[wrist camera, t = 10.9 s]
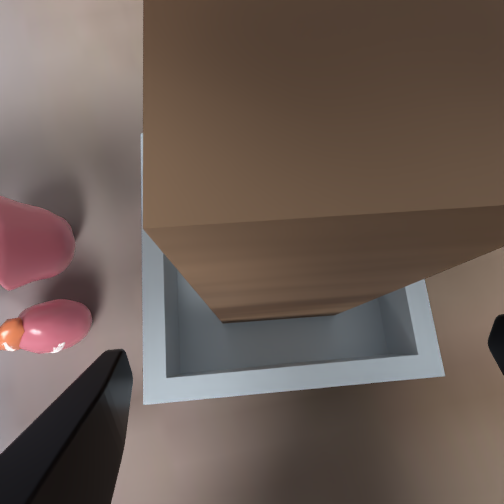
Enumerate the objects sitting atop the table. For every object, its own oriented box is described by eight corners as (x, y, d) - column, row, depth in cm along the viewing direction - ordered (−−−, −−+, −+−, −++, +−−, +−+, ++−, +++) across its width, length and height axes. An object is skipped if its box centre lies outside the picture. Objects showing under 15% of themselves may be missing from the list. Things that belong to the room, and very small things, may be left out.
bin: (404, 370, 16) (445, 376, 13) (165, 393, 16) (143, 404, 13) (364, 158, 19) (389, 116, 16) (159, 172, 19) (140, 133, 15)
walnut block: (334, 315, 16) (625, 197, 4) (222, 323, 16) (142, 229, 4) (321, 210, 18) (503, -134, 5) (217, 217, 18) (144, -121, 5)
